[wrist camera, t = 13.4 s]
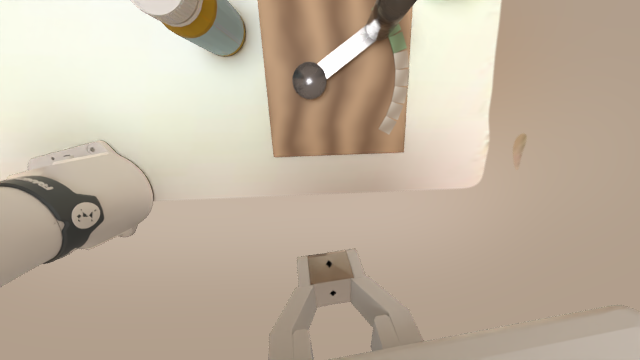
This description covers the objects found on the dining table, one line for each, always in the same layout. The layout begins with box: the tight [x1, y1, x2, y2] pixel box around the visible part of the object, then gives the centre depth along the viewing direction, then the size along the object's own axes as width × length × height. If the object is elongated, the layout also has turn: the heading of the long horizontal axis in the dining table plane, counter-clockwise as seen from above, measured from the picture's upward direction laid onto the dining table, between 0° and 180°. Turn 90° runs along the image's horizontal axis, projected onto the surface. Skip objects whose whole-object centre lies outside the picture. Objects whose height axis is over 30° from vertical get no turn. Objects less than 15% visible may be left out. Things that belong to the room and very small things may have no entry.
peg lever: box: [292, 0, 416, 100], centre depth 28 cm, size 18×5×12 cm, turn 126°
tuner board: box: [258, 0, 412, 157], centre depth 36 cm, size 22×23×1 cm
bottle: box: [131, 0, 245, 56], centre depth 28 cm, size 7×7×15 cm
